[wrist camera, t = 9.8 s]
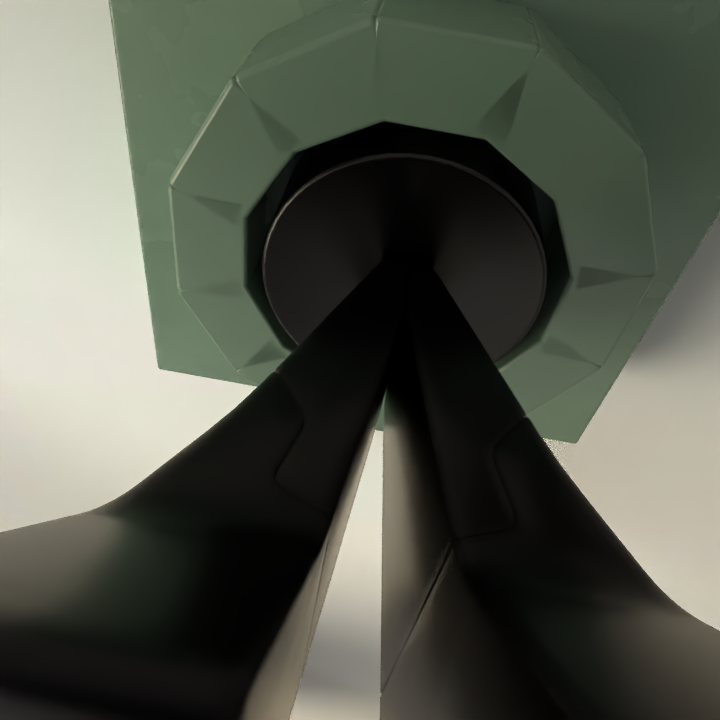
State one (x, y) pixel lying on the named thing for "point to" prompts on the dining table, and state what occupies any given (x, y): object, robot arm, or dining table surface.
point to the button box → (436, 112)
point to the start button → (408, 229)
